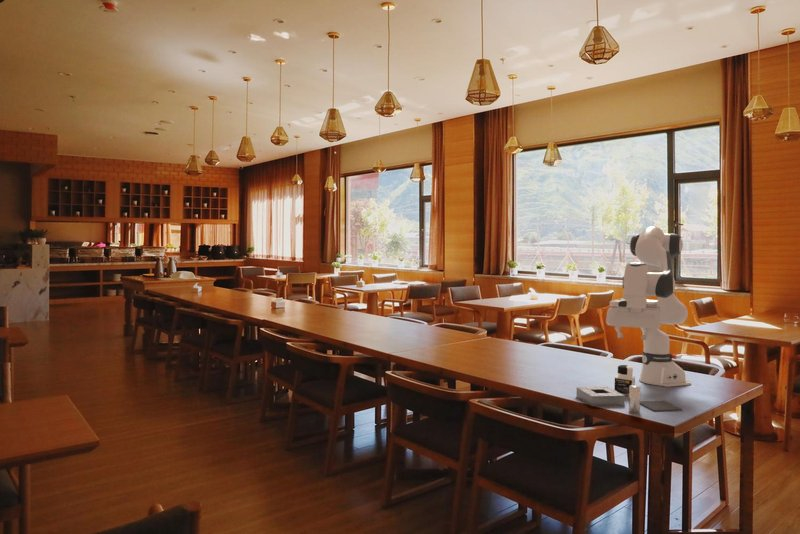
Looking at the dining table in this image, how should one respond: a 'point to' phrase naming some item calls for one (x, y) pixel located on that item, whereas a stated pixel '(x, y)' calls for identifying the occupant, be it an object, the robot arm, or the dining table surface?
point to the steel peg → (634, 399)
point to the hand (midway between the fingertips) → (632, 338)
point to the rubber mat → (659, 406)
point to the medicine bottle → (624, 379)
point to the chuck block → (600, 396)
